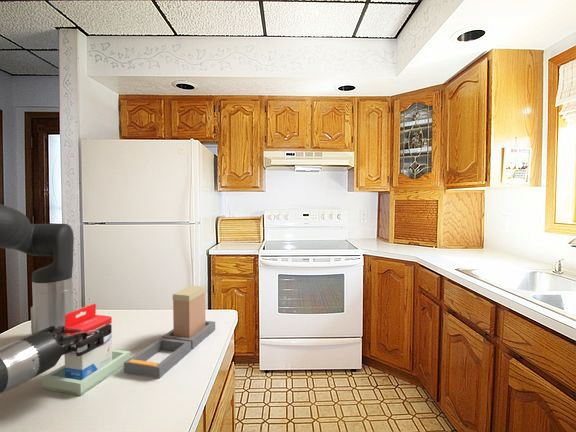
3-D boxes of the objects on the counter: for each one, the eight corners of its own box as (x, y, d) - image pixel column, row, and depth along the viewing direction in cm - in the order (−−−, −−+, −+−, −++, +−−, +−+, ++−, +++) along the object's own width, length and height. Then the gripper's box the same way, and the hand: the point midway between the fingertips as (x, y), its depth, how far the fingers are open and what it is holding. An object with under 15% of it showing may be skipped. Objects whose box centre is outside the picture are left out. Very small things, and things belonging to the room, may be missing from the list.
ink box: (82, 383, 66) (81, 316, 66) (64, 380, 68) (62, 314, 67) (113, 363, 75) (112, 303, 74) (96, 361, 76) (95, 302, 75)
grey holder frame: (124, 372, 72) (124, 361, 72) (188, 326, 99) (188, 317, 98) (159, 378, 70) (159, 366, 70) (215, 329, 96) (215, 320, 96)
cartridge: (173, 343, 87) (172, 294, 86) (190, 330, 96) (190, 285, 95) (189, 345, 86) (189, 295, 85) (205, 331, 95) (205, 286, 94)
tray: (42, 388, 66) (42, 377, 66) (97, 356, 79) (96, 346, 79) (80, 395, 63) (80, 383, 63) (130, 361, 77) (130, 351, 77)
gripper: (51, 345, 55) (120, 313, 71) (-9, 336, 58) (70, 308, 74) (52, 386, 55) (121, 345, 71) (-8, 375, 59) (70, 338, 74)
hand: (95, 326), depth 73 cm, fingers open, 8 cm apart
